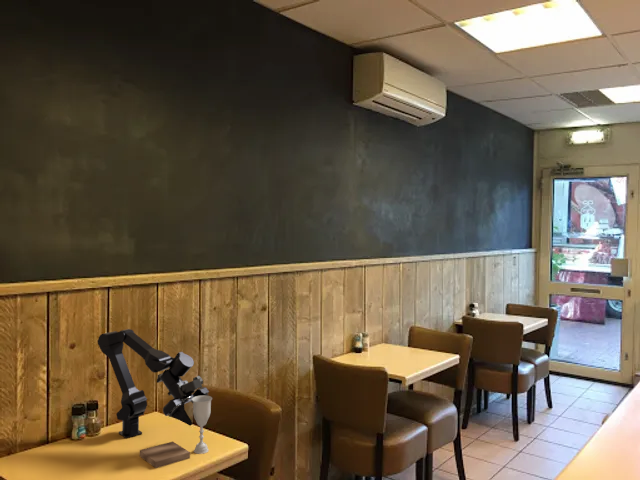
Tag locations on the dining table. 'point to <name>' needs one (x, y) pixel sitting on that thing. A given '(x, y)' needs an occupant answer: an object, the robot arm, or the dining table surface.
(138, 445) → the dining table surface
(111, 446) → the dining table surface
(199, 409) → the chalice
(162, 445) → the walnut board
